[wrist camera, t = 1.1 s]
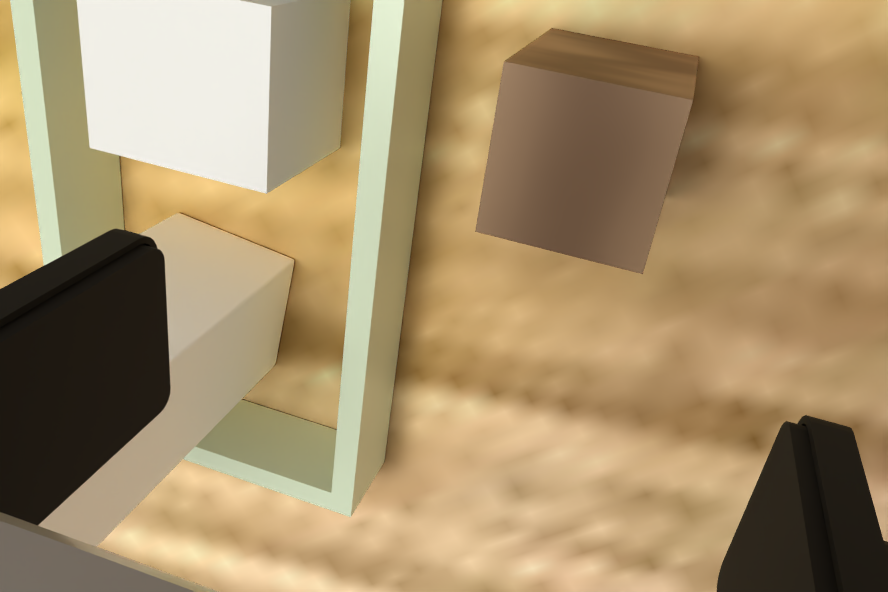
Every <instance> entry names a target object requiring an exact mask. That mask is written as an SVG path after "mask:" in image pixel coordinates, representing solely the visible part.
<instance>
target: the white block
mask: <svg viewBox="0 0 888 592" xmlns="http://www.w3.org/2000/svg"><path fill="white" fill-rule="evenodd" d="M350 3H351V0H77V10H78V21H79V32H80V44H81V55H82V66H83V78H84V89H85V100H86V112H87V123H88V134H89V146H90V148H92V149H96V150H100V151H104V152H108V153H111V154H115V155H119V156H123V157H127V158H131V159H135V160H139V161H142V162H146V163H150V164H154V165H158V166H162V167H166V168H170V169H173V170H177V171H181V172H185V173H189V174H193V175H197V176H201V177H204V178H208V179H212V180H216V181H220V182H224V183H228V184H232V185H235V186H239V187H243V188H247V189H251V190H255V191H259V192H262V193H266V194H267V193H268V192H270V191H271V190H273V189H275V188H276V187H278V186H280V185H281V184H283V183H284V182H286V181H288V180H289V179H291V178H292V177H294V176H296V175H297V174H299V173H300V172H302V171H304V170H305V169H307V168H308V167H310V166H312V165H313V164H315V163H317V162H318V161H320V160H321V159H323V158H325V157H326V156H328V155H329V154H331V153H333V152H334V151H336V150H337V149H339V148H340V142H341V128H342V114H343V100H344V86H345V72H346V59H347V45H348V31H349V17H350Z"/></svg>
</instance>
